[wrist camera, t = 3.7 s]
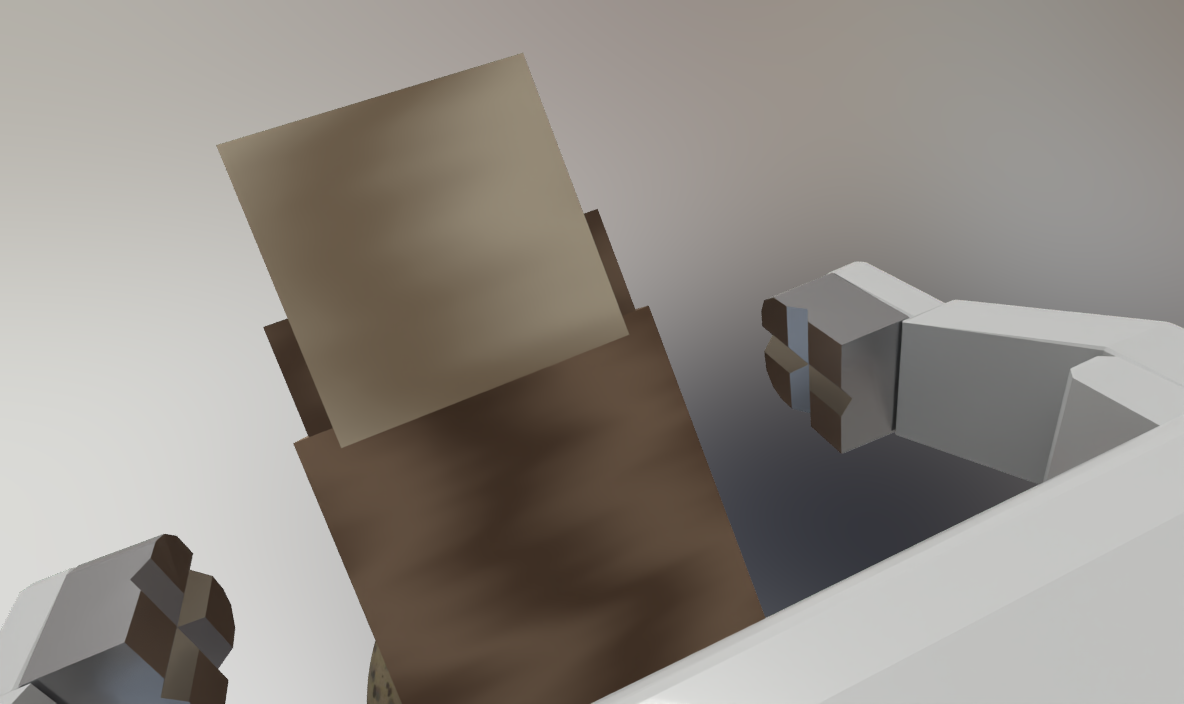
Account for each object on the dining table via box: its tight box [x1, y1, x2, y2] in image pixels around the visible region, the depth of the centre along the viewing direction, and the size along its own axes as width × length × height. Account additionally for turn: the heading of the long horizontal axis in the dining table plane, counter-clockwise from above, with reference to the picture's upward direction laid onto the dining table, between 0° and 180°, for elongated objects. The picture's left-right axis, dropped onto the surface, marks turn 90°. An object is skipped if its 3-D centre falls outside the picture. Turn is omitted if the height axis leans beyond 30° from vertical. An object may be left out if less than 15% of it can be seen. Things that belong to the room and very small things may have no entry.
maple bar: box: [217, 53, 629, 448], centre depth 20 cm, size 4×24×4 cm, turn 11°
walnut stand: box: [264, 209, 765, 704], centre depth 23 cm, size 10×10×29 cm
